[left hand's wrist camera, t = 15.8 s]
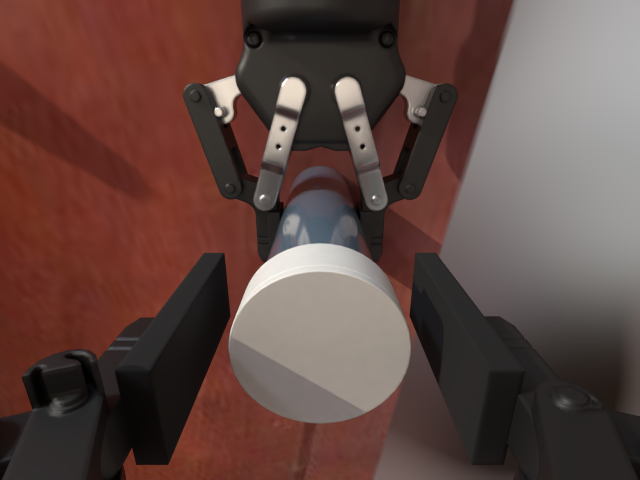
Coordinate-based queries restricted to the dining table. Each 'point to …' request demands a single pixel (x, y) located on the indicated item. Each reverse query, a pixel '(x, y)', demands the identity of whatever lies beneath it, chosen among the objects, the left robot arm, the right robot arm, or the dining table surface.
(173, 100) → the dining table surface
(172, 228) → the dining table surface
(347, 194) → the grey cylinder
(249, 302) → the lid
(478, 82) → the dining table surface
